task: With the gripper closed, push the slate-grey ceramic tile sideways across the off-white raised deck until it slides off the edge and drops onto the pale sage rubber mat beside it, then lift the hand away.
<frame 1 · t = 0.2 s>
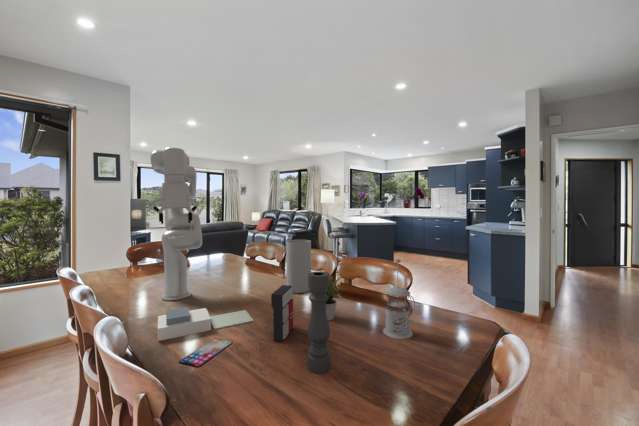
hand: (176, 223, 112), 36 cm above the table, tool pointing down, fingers open, 9 cm apart
smartphone: (207, 353, 84), on the table
candle holder: (319, 367, 76), on the table
tile: (177, 318, 99), point 4 cm above the table, touching deck
mat: (230, 319, 108), on the table
french press: (399, 332, 97), on the table
dark grey box: (283, 334, 95), on the table
deck: (184, 328, 100), on the table
house plant: (330, 317, 109), on the table
cylinder vase: (299, 290, 144), on the table
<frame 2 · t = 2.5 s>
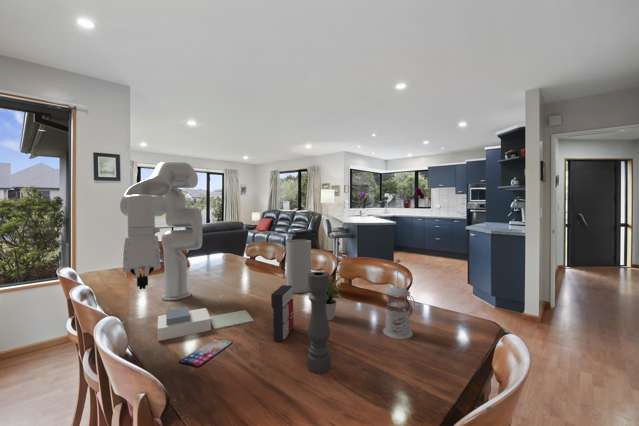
hand: (142, 288, 93), 16 cm above the table, tool pointing down, fingers closed
nothing on the table moved.
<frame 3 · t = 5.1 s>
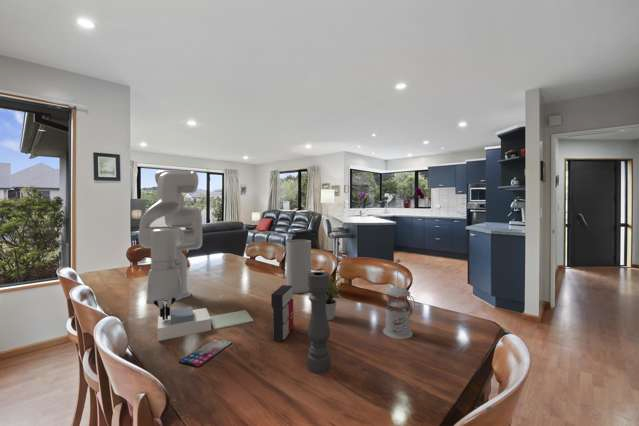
hand: (165, 318, 97), 5 cm above the table, tool pointing down, fingers closed
tile: (181, 317, 99), point 4 cm above the table, touching gripper
everything else where it was.
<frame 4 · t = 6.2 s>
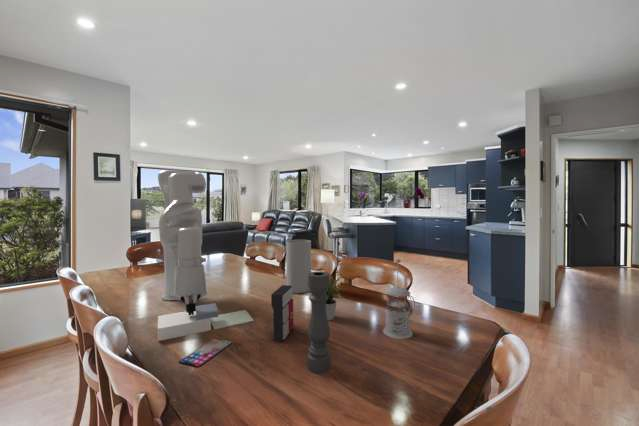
hand: (191, 313, 101), 5 cm above the table, tool pointing down, fingers closed
tile: (206, 314, 103), point 4 cm above the table, touching deck
everything else where it was.
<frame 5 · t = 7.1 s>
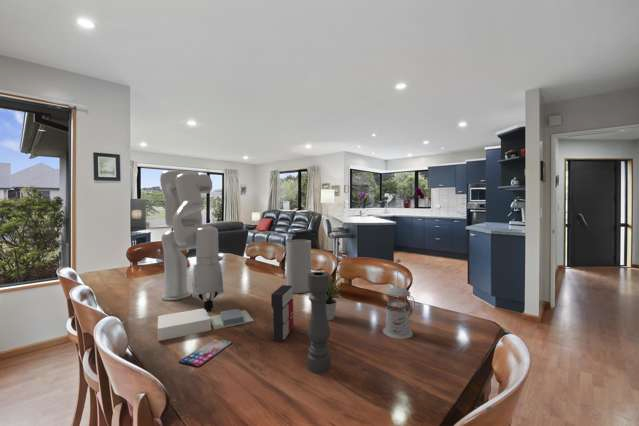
hand: (208, 310, 104), 5 cm above the table, tool pointing down, fingers closed
tile: (231, 314, 107), point 2 cm above the table, tilted 180°, touching mat
everything else where it was.
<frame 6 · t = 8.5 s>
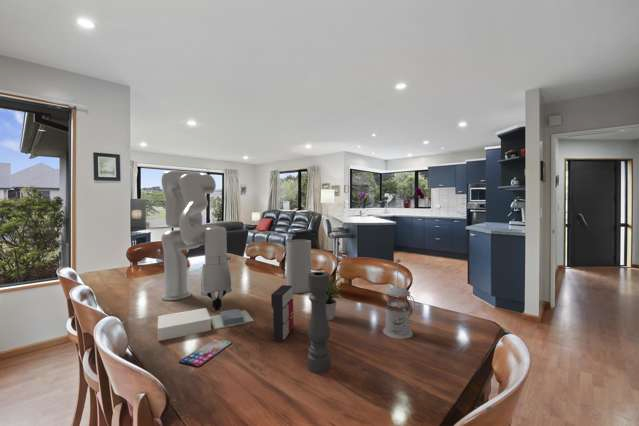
hand: (216, 309, 105), 5 cm above the table, tool pointing down, fingers closed
nothing on the table moved.
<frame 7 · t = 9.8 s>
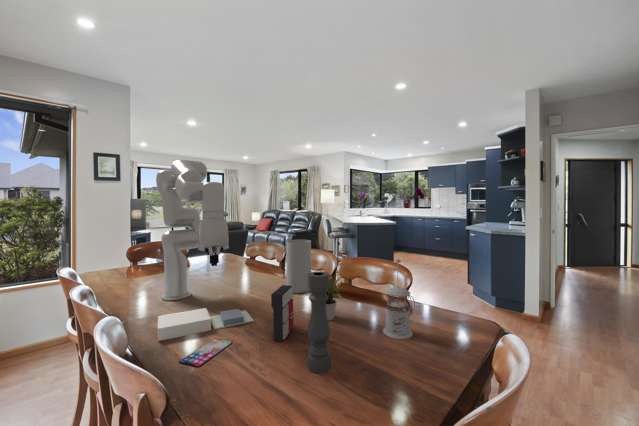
hand: (214, 265, 105), 21 cm above the table, tool pointing down, fingers closed
nothing on the table moved.
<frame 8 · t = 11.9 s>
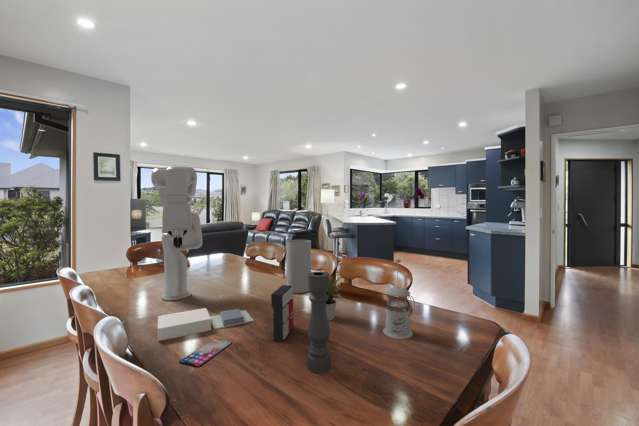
hand: (177, 247, 110), 27 cm above the table, tool pointing down, fingers closed
nothing on the table moved.
at the end: tile inside the target area (1.1 cm from its centre), point 2.4 cm above the table; tile touching mat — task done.
